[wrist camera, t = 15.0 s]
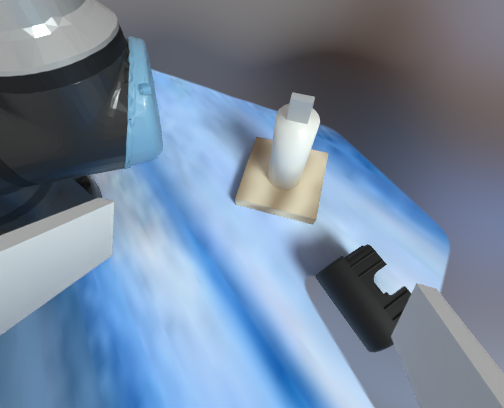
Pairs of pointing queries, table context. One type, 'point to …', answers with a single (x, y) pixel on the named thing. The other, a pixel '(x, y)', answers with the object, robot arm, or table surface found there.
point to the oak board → (277, 200)
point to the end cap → (364, 297)
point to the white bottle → (292, 141)
